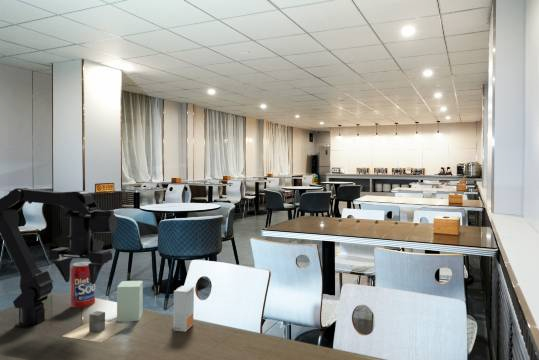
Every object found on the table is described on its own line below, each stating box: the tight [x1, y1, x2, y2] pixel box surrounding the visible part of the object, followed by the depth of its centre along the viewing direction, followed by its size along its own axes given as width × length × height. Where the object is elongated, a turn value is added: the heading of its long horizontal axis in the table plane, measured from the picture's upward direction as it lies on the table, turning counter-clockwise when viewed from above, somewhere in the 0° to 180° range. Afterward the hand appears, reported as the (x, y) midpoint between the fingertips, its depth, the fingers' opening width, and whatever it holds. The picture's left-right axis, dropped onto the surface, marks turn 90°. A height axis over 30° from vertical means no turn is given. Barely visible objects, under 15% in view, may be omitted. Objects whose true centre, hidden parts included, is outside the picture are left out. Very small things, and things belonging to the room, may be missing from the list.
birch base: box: [61, 310, 130, 343], centre depth 118 cm, size 13×13×6 cm
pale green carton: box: [116, 280, 144, 322], centre depth 129 cm, size 7×7×11 cm
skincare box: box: [172, 285, 195, 332], centre depth 123 cm, size 6×4×12 cm
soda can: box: [69, 261, 96, 309], centre depth 141 cm, size 8×8×15 cm
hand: (80, 283), depth 124 cm, fingers open, 9 cm apart
